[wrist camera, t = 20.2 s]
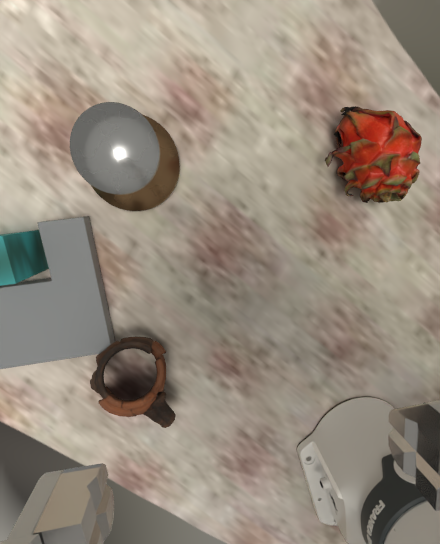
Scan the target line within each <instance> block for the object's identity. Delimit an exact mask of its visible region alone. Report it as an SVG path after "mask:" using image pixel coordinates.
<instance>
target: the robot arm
mask: <svg viewBox="0 0 440 544" xmlns="http://www.w3.org/2000/svg"><path fill="white" fill-rule="evenodd" d="M297 453H298V456H299V459H300V462H301V466H302V469H303V472H304V476H305V479H306V482H307V486H308V489H309V492H310V495H311V499H312V502H313V505H314V509H315V512H316V515H317V517H318V519H319V520H320V522H321V523H324V524H328V525H334V526H338V527H339V529H340V531H341V533H342V535H343V537H344V539H345V540H346V542H347V543H348V544H440V400H437V401H432V402H427V403H423V404H418V405H413V406H408V407H403V408H398V409H394V407H392V406H391V405H390V404H389V403H387V402H385V401H383V400H381V399H377V398H371V397H362V398H356V399H352V400H349V401H346V402H344V403H342V404H340V405H338V406H336V407H335V408H333V409H332V410H331V411H330V412H328V413H327V414H326V415H325V416H324V418H323V419H322V420H321V421H320V423H319V424H318V426H317V427H316V429H315V431H314V432H313V433H312V434H311V435H310V436H309V437H307V438H306V439H305V440H304V441H303V442H301V443H300V444H299V446H298V448H297ZM107 478H108V472H107V468H106V465H105V464H103V463H102V464H96V465H90V466H83V467H77V468H71V469H65V470H62V471H55V472H48V473H45V474H44V475H43V476H42V477H40V479H39V481H38V482H37V484H36V486H35V488H34V490H33V492H32V493H31V495H30V497H29V499H28V501H27V503H26V505H25V507H24V509H23V510H22V512H21V514H20V516H19V518H18V520H17V521H16V523H15V525H14V527H13V529H12V531H11V533H10V535H9V537H8V539H7V540H5V541H0V544H104V542H103V541H104V540H105V539H106V537H107V536H108V535H109V533H110V532H111V527H112V523H113V514H114V498H113V492H112V488H111V487H109V486H108V485H107V484H106V482H107Z"/></svg>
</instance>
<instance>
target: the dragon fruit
mask: <svg viewBox="0 0 440 544" xmlns="http://www.w3.org/2000/svg"><path fill="white" fill-rule="evenodd" d="M344 111H345V112H344ZM341 112H344V113H343V114H342V115H344V117H343V119H342V120H341V122H340V124H339V125H338V127H337V129H336V131H335V133H334V135H335V136H336V139H337V144H338V146H339V148H338V149H337V150H335V151H333V152H332V153H331V152H330V153H329V155H328V157H327V158H326V159H325V161H326V164H327V166H328V167H329V165H330V163H331V161H332V158H333V156H336V157H338V158H340V159H341V160H342V161H343V162H344V164H343V165H342V166H340V167H339V168H338V171H337V175H338V176H340V177H341V178H343V179H345V180H347V181H349V183H348V184H347V185H346V187H345V193H346V195H347V196H353V195H352V194H348V190H349V189H350V188H353V187H357V188H360V189H361V190H362V191H361V193H360V197H361V200H362V201H363V202H366V203H368V202H367V201H369V200H370V199H372V200H373V201H374V202H379V203H380V202H389V201H401V200H402V199H403V198H404V197H405V196H406V194H407V193H408V189H409V188H410V187H411V185H412V183H415V181H416V180H417V178H418V175H419V170H418V169H416V168H417V166H418V165H419V164H420V158H419V155H418V152H419V149H420V147H421V140H422V138H421V136H420V134H418V133H417V132H416V131H415V130H414V129H413V128H412V127H411V125H410V124H409V123H408V122H407V121H404V120H403V118H402V117H401V116H400V115H398V114H397V113H396V112H395V111H388V110H386V111H373V110H369V109H362V108H360V107H350V108H349V107H344V108H343V109H342V110H341ZM340 135H341V136H340ZM341 139H342V141H343V147H341V148H340V144H341ZM339 142H340V144H339ZM345 173H346V174H345Z"/></svg>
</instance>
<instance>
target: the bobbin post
mask: <svg viewBox="0 0 440 544" xmlns="http://www.w3.org/2000/svg"><path fill="white" fill-rule="evenodd" d="M70 151H71V156H72V160H73V162H74V164H75V167H76V168H77V170H78V172H79V173H80V174H81V176H82V177H83V178H84V179H85V180H86V181H87V182H88V183H89V184H91V186H92V187H93V189H94V190H95V191H96V193H97V194H98V195H99V196H100V197H101V198H103V199H104V200H105V201H106V202H108V203H109V204H111V205H113V206H115V207H117V208H120V209H124V210H129V211H141V210H147V209H151V208H153V207H156V206H158V205H159V204H161V203H162V202H164V201H165V200H166V199H167V198H168V197H169V196H170V194H171V193H172V192H173V190H174V188H175V186H176V184H177V181H178V177H179V168H180V166H179V157H178V152H177V149H176V146H175V144H174V142H173V140H172V138H171V136H170V135H169V134H168V132H167V131H166V130H165V129H164V128H163V127H162V126H161V125H160V124H159V123H157V122H156V121H155V120H153V119H151V118H149V117H147V116H145V115H142V114H141V113H139V112H138V111H137V110H135V109H133V108H132V107H130V106H127V105H125V104H121V103H115V102H106V103H100V104H97V105H94V106H92V107H90V108H89V109H87V110H86V111H84V112H83V113H82V114H81V115H80V117H79V118H78V119H77V121H76V122H75V124H74V126H73V129H72V132H71V136H70Z"/></svg>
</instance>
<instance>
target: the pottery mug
mask: <svg viewBox="0 0 440 544" xmlns="http://www.w3.org/2000/svg"><path fill="white" fill-rule="evenodd" d="M131 348H135V349H140V350H143V351H145V352H147V353H148V354H150V353H152V354H153V355H154V357H155V359H156V361H155V364H156V368H157V377H156V381H155V383H154V385H153V387H152V388H151V390H150V391H149V392H148V393H147V394H146V395H145V396H143V397H141V398H139V399H136V400H121V399H119V398H117V397H116V396H114V395H113V394H112V393H111V392H110V391H109V389H108V388H107V387H105V384H104V369H105V366H106V364H107V363H108V361H109V360H110V359H111V357H112V356H114V355H115V354H116V353H118V352H120V351H122V350H124V349H131ZM163 353H166V351H165V349H164V348H163V347H162V346H161V345H160V344H159V343H158V342H157V341H153V339H151V338H146V337H127V338H123V339H121V341H116V342H114V343H112V344H111V345H110V346H109V347H107V348H106V349H105V350H104V351H103V352H101V353H100V354H99V355H98V356H97V357H96V361H97V365H98V367H97V370H96V371H95V372H94V373H93V375H92V379H91V380H90V384H91V388H92V389H93V390H95V391H96V392H97V393H99V394H100V395H101V396H102V398H103V399H102V400H99V404H100V405H101V406H102V407H103V408H104V409H105V410H106V411H108V412H109V413H112V414H115V415H118V416H126V417H131V416H136V415H140V414H144V415H146V416H147V417H149V418H150V419H152V420H153V421H154V422H156V423H158V424H160V425H161V426H162V427H164V428H166V427H169V426H170V425H171V424H172V423H173V421H174V420H175V413H174V411H173V410H172V409H171V408H170V407H169V405H168V404H167V403H166V401H165V396H166V393H165V392H164V390H163V389H164V384H165V379H166V363H165V359H164V356H163V355H162V354H163Z"/></svg>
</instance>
